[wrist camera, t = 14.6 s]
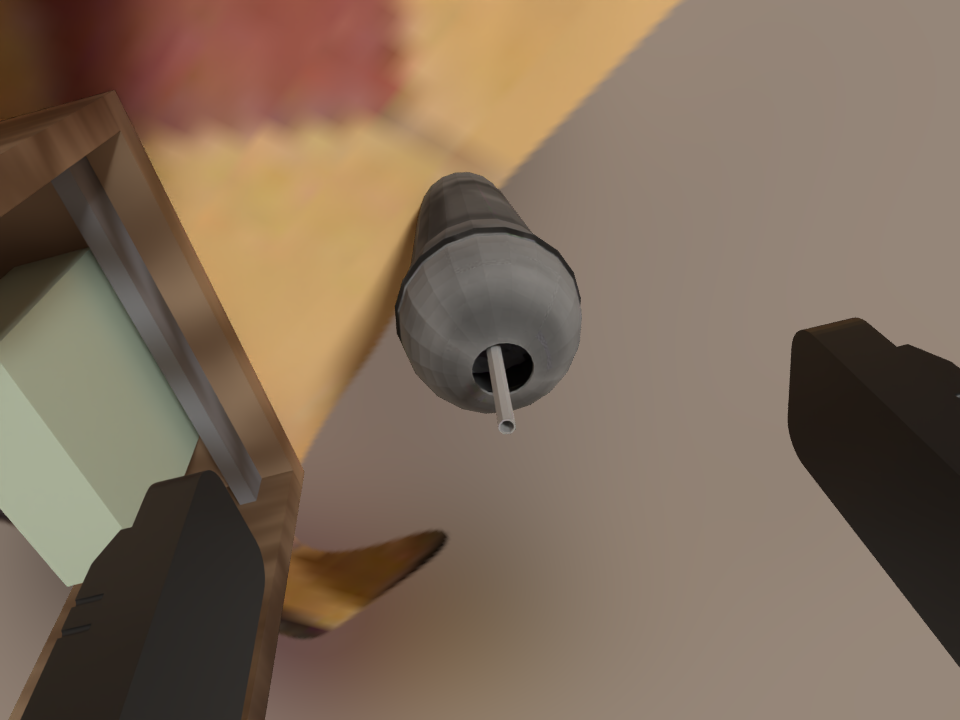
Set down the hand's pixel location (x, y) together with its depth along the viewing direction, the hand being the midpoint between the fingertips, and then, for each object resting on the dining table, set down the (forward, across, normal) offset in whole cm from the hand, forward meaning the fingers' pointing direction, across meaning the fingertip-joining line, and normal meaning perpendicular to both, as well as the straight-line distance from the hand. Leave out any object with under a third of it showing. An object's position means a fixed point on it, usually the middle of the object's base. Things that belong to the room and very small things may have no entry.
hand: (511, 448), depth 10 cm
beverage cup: (+28, 0, +7) cm, 29 cm away
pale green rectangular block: (+26, +19, +10) cm, 34 cm away
